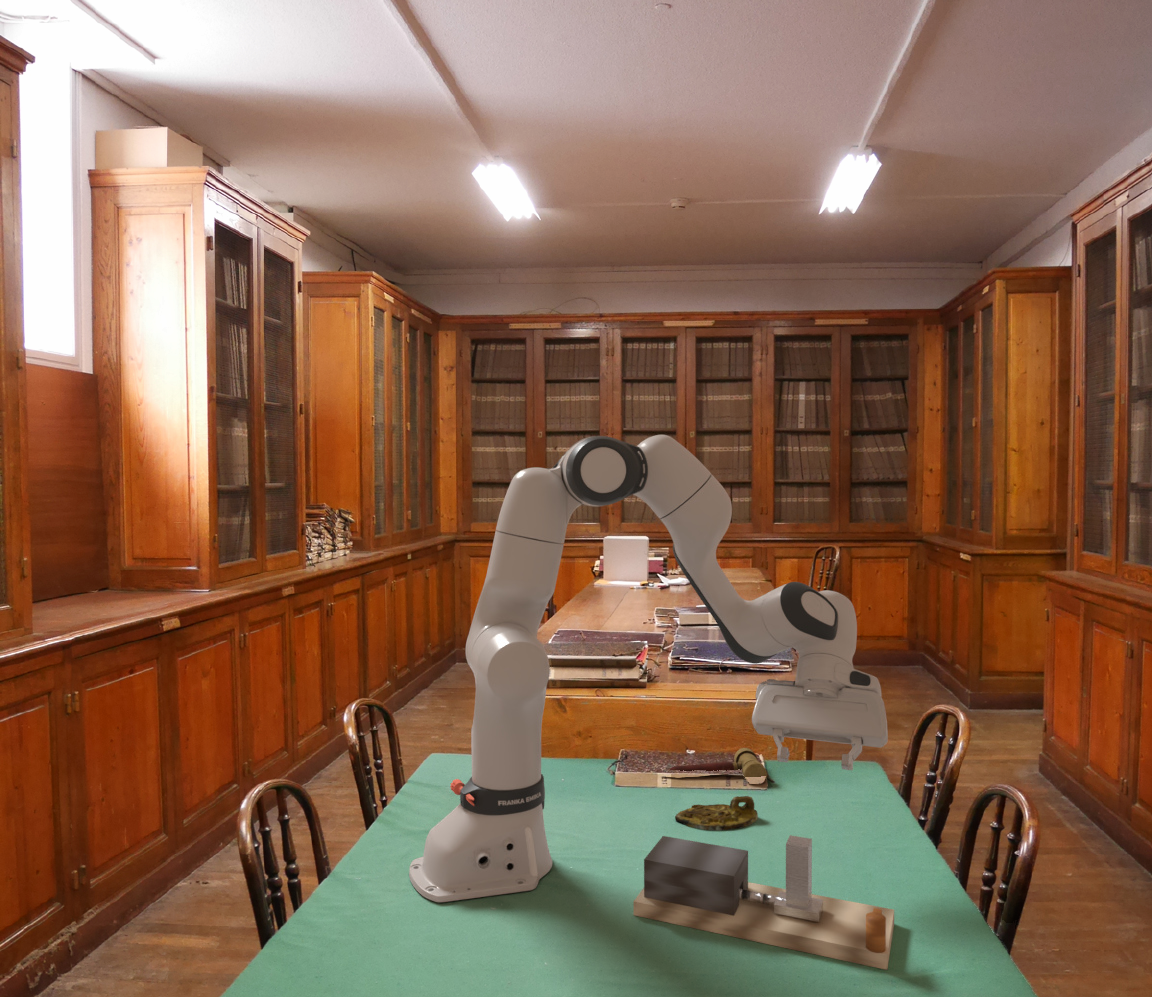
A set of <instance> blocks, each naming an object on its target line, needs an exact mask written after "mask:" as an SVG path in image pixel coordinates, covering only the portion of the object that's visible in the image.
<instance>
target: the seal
mask: <svg viewBox="0 0 1152 997" xmlns="http://www.w3.org/2000/svg"><path fill="white" fill-rule="evenodd" d="M741 803H744V804H743V805H739V804H741ZM758 815H759V814H758V810H756V809H755V802H754V799H753V797H751V796H749V795H748V796H747V795H745V796H744V795H742V796H737V795H736V796H734V797H733V798H732V799H731V800H730V803H729V804H725V803H722V804H719V803H717V804H716V803H715V804H705V805H704V804H693V805H691V807H689V808H686V809H684V810H680V811H679V812H677V813H676V815H675V817H674V818H675V822H678V823H679V822H680V823H681V824H683V825H685V826H686V827H688V828H691V829H697V830H701V831H727V830H728V831H730V830H736V829H741V828H742V829H743V828H746V827H748V826H751V825H752V824H754V823H755V822H756V821H758V818H759V817H758Z"/></svg>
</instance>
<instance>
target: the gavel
mask: <svg viewBox="0 0 1152 997" xmlns="http://www.w3.org/2000/svg"><path fill="white" fill-rule="evenodd" d="M733 761H734V762H733ZM733 761H732V762H729V761H723V762H721V761H720V762H710V763H698V764H686V765H675V766H672V767H670V770H680V771H683V770H684V771H692V770H693V771H694V770H706V771H713V770H714V771H717V770H718V771H719V770H726V771H727V770H738V769H740V770H741V769H742V776H743V775H744V777H761V776H766V777H768V771H767V769H766V768H765V765H763V763H761V762H760V761H759V760H758V757H757V755H756V753H755V751H753V749H750V748H749V747H741V748H739V749H738V750H737V751H736V752H735V753H734V757H733ZM744 777H743V778H744Z"/></svg>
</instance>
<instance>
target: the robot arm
mask: <svg viewBox="0 0 1152 997" xmlns="http://www.w3.org/2000/svg"><path fill="white" fill-rule="evenodd" d="M631 496H635V497H637V498H639V499H640V500H642V502H644V503H645V504H646V505H647V506H648V507H649V508H650V509H651V511H653V513H654V515H656V517H657V518H658V519H659V520H660V522H661V523H662V524H663V525H664V526H665V528H666V530H667V531H668V533H669V536H670V537H671V540H672V542H673V544H672V553H673V555H674V559H675V561H676V562H677V564H678V566H679V568H680V569H681V571H682V573H683V575H684V576H685V577H686V578H685V579H687V581H688V582H689V584H690V585H691V587H692V588H693V590H694V591H695V593H696V594H697V596H698V597H699V598H700V600H701V602H703V605H704V606H705V607H706V609H707V610H708V612H709V614H710V615H711V616H712V618H713V619H714V621H715V623H716V625H717V626H718V628H719V630H720V632H721V634H722V637H723V639H724V641H725V644H726V645H727V646H728V648H729V650H730V651H731V652H732V653H733V654H734V655H735V656H736V657H738V658H739V659H740V660H743V661H744V662H747V663H749V664H754V665H756V664H761V663H764V662H766V661H767V660H770V659H771V658H773V657H775V656H776V655H778V654H780V653H782V652H784V651H788V650H789V649H791V648H792V649H794V650H796V651H797V653H798V660H797V665H796V669H795V670H796V671H795V676H794V677H795V678H794V679H795V680H787V679H785V680H784V679H783V680H779V679H778V680H777V679H773V678H769V679H766V681H761V682H760V683H759V684H758V685H757V687H756V691H755V704H754V707H753V711H752V716H751V723H752V726H753V728H754V729H755V731H756V732H757V734H758V735H763V736H772V738H773V741H774V743H775V746H776V748H777V754H776V759H777V761H778V762H781V763H786V764H787V763H789V758H790V750H789V747H786V746H783V744H782V743H784V741H785V738H792V739H798V740H799V739H800V740H810V741H820V742H826V743H827V742H828V743H836V744H845V745H851V750H850V751H849V752H848V753H841V769H842V770H846V771H853V768H854V761H855V760H856V759H857V758H858V757H859V756H860V755H861V753H862V752H863V747H871V748H883V747H885V745H886V744H887V743H888V742H889V741H888V739H889V738H888V737H889V736H888V731H889V730H888V721H887V712H886V706H885V702H884V699H883V698H882V697H883V696H882V686H881V684H880V680H879V679H878V677H876V676H874V675H872V674H869V673H867V672H863V671H861V670H858V669H856V668H854V663H853V658H854V655H855V653H856V650H857V637H858V622H857V614H856V610H855V607H854V604H853V603H852V601H851V600H850V598H848V597H847V596H845V595H844V594H842V593H840V592H837V591H835V590H827V589H826V590H820V591H818V590H816V589H814V588H813V587H811V586H809V585H808V584H806V583H803V582H800V581H791V582H790V581H789V582H788V583H786V584H782V585H781V586H778V587H777V588H776V587H775V588H774V589H772V590H770V591H769V592H767V593H765V594H763V595H761V596H758V597H756V598H754V599H752V600H747V599H744V598H743V597H742V596H741V595H739V593H738V591H737V590H736V589H735V587H734V585H733V584H732V583H731V582H730V579H729V578H728V577H727V575H726V573H725V572H724V571H723V569H722V568H721V565H719V562H718V559H717V548H718V546H719V544H720V542H721V541H722V540H723V537H724V536H725V534H726V533H727V531H728V529H729V527H730V523H731V521H732V514H733V506H732V500H731V498H730V496H729V494H728V492H727V491H726V489H725V488H724V486H723V485H722V484H721V483H720V482H719V481H718V479H717V478H716V477H715V476H714V475H713V474H712V473H711V471H710V470H709V469H708V468H707V467H706V466H705V465H704V464H703V463H702V462H701V461H700V460H699V459H698V458H697V457H696V456H695V455H694V454H693V453H691V452H690V450H688V449H687V448H686V447H685V446H683V445H682V444H681V443H680V442H678V441H677V440H676V439H674V438H673V437H672V436H669V435H667V434H657V435H653V436H650V437H647V438H646V439H644V440H642V441H641V442H640V443H639V444H637V445H635V444H632V443H628V442H625V441H622V440H620V439H617V438H615V437H611V436H605V435H594V436H587V437H585V438H584V437H583V438H581V439H580V440H578V441H576V442H575V443H574V444H573V445H571V446H570V447H569V449H568V450H567V451H565V453H564V454H563V455H562V456H561V458H560V459H559V460H558V462H556V464H554V466H553V467H552V468H544V467H537V466H536V467H535V466H534V467H528V468H524V469H521V470H520V471H518V472H517V473H515V475H514V476H513V478H512V479H511V481H510V483H509V486H508V488H507V491H506V494H505V496H504V499H503V501H502V505H501V507H500V512H499V515H498V518H497V523H496V527H495V533H494V538H493V542H492V548H491V551H490V557H489V561H488V565H487V569H486V570H487V572H486V576H485V579H484V583H483V586H482V590H481V591H480V595H479V597H478V601H477V605H476V608H475V610H474V611H475V612H474V614H473V618H472V620H471V625H470V627H469V632H468V635H467V639H466V643H465V659H466V662H467V664H468V666H469V667H470V669H471V671H472V673H473V676H474V681H475V682H474V683H475V695H474V696H475V698H474V710H473V721H472V726H471V730H470V731H471V732H470V733H471V735H470V736H471V737H470V738H471V744H470V745H471V747H470V748H471V776H470V778H469V780H468V781H467V782H466V783H463V781H462V780H461V779H459V778H456V779H453V780H452V782H451V783H450V786H449V787H450V790H451V791H452V792H453V793H454V794H455V795H457V796H459V798H460V799H459V801H460V803H459V804H458V805H457V806H456V807H455V808H453V810H451V811H450V812H449V813H448V814H447V815H446V816H445V817H443V818H442V819H441V820H440V821H439V822H438V823H437V824H435V825H434V826H433V827H432V828H430V830H429V832H428V834H427V836H426V839H425V843H424V849H423V856H420V857H417V858H415V859H413V860H412V861H411V863H410V865H409V871H408V876H409V880H410V882H411V885H412V886H413V888H415V890H416V891H417V892H418V893H419V894H420V895H421V896H422V897H423V898H426V899H427V900H430V901H433V902H435V903H447V902H453V901H460V900H461V901H462V900H468V899H475V898H476V899H477V898H482V897H484V898H485V897H492V896H498V895H506V894H513V893H521V892H528V891H533V890H535V889H536V888H537V886H538V884H539V881H540V879H542V878H543V877H544V876H545V875H547V874H548V873H549V872H550V871H551V869H552V867H553V858H552V856H551V853H550V848H549V845H548V840H547V835H546V829H545V822H544V821H545V820H544V811H543V810H544V809H545V801H546V800H545V798H546V797H545V796H546V789H545V788H546V787H545V777H544V775H543V774H542V723H543V715H544V709H545V704H546V696H547V685H548V682H549V679H550V672H551V668H550V661H549V657H548V653H547V650H546V649H545V646H544V644H542V642H541V641H540V640H539V639H538V631H539V628H540V625H541V621H542V620H543V617H544V614H545V612H546V609H547V606H548V604H549V601H550V599H551V598H552V597H553V595H554V593H555V590H556V584H557V580H558V575H559V570H560V565H561V559H562V555H563V551H564V547H565V546H564V545H565V544H564V543H565V540H566V535H567V529H568V525H569V522H570V519H571V517H572V515H573V513H574V512H575V510H576V509H577V508H578V507H581V506H584V505H585V506H590V507H604V506H609V505H613V504H615V503H618V502H620V501H622V500H624V499H627V498H628V497H631Z"/></svg>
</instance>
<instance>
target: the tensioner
mask: <svg viewBox="0 0 1152 997" xmlns="http://www.w3.org/2000/svg"><path fill="white" fill-rule="evenodd" d="M739 889H742V890H743V889H744V890H749V891H755V892H760V893H763V894H764V893H765V894H770V895H775V896H778V894H779V892H780V891H781V892H786V888H781V887H776V886H770V885H765V884H759V883H755V882H749V850H748V849H747V850H746V849H742V848H741V849H739V848H735V847H729V846H723V845H719V844H712V843H707V842H700V841H695V840H689V839H683V838H677V837H672V836H666V835H663V836H662V837H661V838H660V839H659V840H658V841H657V843H655V845H654V846H653V848H652V849H651V850H650V851H649V853H648V854H647V855H646V857H645V858H644V859H643V888H642V889H641V891H640V892H639V893H638V894H637V895H636V898H635V899H634V900H633V916H634V917H635V916H636V917H641V918H644V919H650V920H653V921H659V922H664V923H669V924H673V925H676V926H677V925H678V926H682V927H686V928H691V929H695V930H700V931H705V932H711V933H715V934H719V935H724V936H728V937H733V938H737V939H743V940H747V941H753V942H757V943H760V944H766V945H770V946H776V947H780V948H784V949H788V950H792V951H799V952H802V953H808V954H813V955H817V956H821V957H825V958H829V959H830V958H831V959H835V960H840V961H845V962H849V963H854V964H859V965H862V966H867V967H873V968H878V969H882V970H886V971H887V970H888V967H889V961H890V955H891V948H892V942H893V934H894V930H895V929H894V927H895V909H893V908H887V907H881V906H876V905H871V904H867V903H861V902H856V901H850V900H846V899H845V900H844V899H841V898H840V899H839V898H834V897H829V896H824V895H818V894H813V893H812V898H818V899H823V911H822V914H821V917H820V920H819V922H816V921H811V920H806V919H801V918H796V917H791V916H786V915H781V914H776V913H774V906H770V905H765V904H760V903H755V902H750V901H745V900H742V899H739Z"/></svg>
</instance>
